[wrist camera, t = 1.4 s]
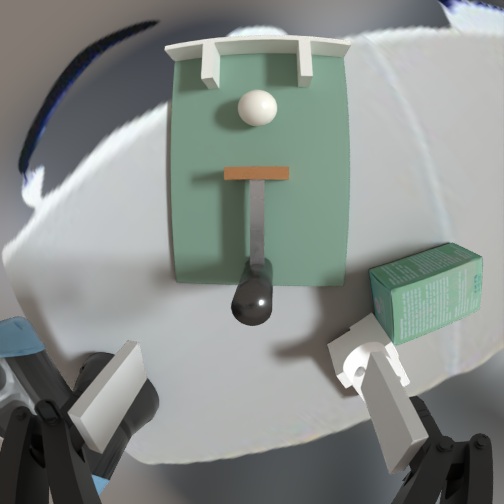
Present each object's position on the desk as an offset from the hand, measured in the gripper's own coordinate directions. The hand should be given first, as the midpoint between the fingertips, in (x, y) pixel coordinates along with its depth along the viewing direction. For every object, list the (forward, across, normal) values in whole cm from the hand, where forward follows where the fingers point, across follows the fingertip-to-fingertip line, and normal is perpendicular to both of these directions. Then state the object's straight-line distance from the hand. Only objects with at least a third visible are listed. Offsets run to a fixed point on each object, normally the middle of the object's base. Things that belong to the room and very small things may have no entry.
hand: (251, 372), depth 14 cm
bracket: (+19, +15, -13) cm, 28 cm away
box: (+19, +20, -1) cm, 27 cm away
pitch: (+19, -1, +12) cm, 22 cm away
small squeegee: (+18, -1, +5) cm, 18 cm away
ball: (+16, -1, +18) cm, 24 cm away
